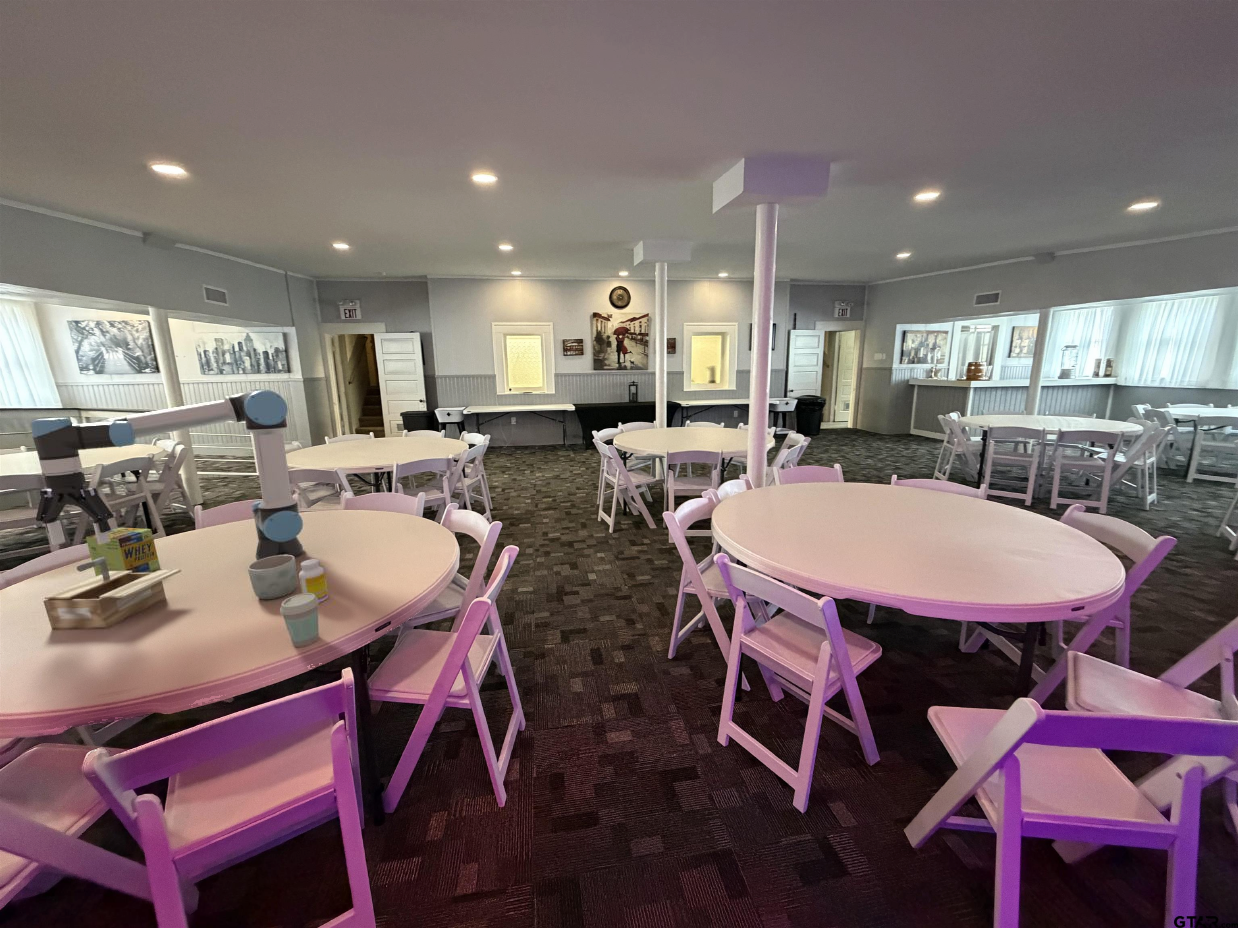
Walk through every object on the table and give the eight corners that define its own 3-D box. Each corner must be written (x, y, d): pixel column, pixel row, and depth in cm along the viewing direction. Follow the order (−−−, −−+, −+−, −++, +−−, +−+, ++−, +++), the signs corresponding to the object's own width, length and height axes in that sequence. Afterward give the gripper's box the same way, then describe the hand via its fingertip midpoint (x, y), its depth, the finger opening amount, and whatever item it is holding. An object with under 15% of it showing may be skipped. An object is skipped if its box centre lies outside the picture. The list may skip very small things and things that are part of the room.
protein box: (128, 580, 168) (117, 538, 165) (95, 577, 171) (84, 536, 168) (161, 567, 178) (152, 528, 175) (129, 565, 181) (120, 526, 178)
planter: (264, 606, 146) (257, 573, 144) (246, 596, 153) (240, 565, 151) (307, 590, 157) (302, 559, 154) (289, 581, 163) (283, 552, 161)
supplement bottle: (333, 596, 152) (327, 558, 149) (314, 606, 145) (307, 567, 143) (318, 593, 154) (311, 556, 151) (298, 603, 148) (291, 564, 145)
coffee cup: (298, 633, 131) (291, 593, 128) (330, 631, 131) (324, 591, 129) (279, 651, 122) (271, 608, 120) (314, 649, 123) (306, 606, 121)
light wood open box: (188, 597, 153) (182, 569, 151) (131, 628, 136) (123, 596, 134) (117, 599, 154) (109, 570, 152) (51, 629, 136) (41, 597, 134)
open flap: (45, 598, 134) (37, 574, 133) (110, 572, 151) (104, 550, 150) (69, 598, 134) (62, 574, 133) (132, 572, 151) (126, 550, 150)
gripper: (120, 469, 139) (136, 538, 143) (36, 470, 139) (55, 539, 143) (92, 474, 131) (109, 547, 136) (3, 476, 132) (24, 548, 136)
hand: (81, 543), depth 139 cm, fingers open, 13 cm apart
